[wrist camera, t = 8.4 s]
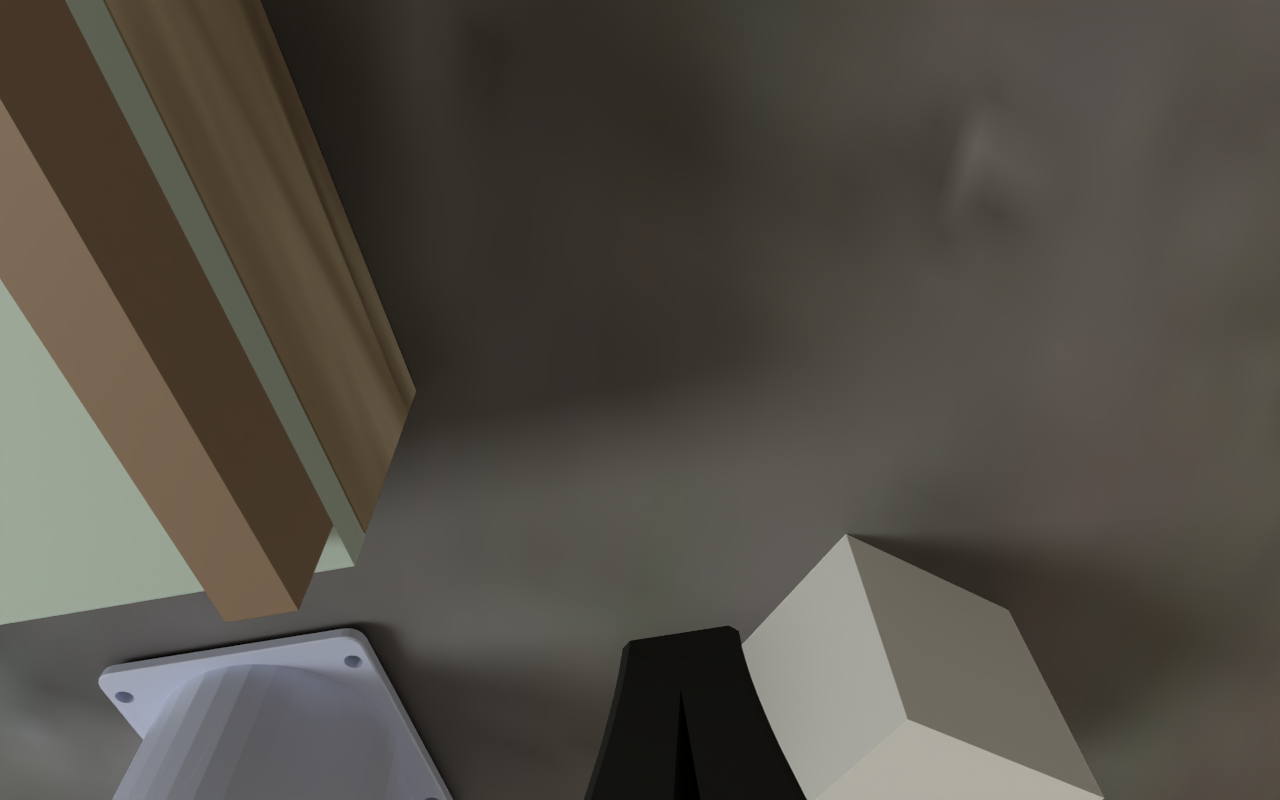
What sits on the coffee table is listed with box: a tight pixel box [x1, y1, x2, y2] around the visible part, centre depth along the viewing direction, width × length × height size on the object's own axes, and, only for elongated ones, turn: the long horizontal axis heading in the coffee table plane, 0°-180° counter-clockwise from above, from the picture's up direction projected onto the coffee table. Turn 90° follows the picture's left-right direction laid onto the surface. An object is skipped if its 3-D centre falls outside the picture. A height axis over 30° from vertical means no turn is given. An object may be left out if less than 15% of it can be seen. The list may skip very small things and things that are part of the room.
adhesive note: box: [742, 534, 1104, 800], centre depth 23 cm, size 6×6×6 cm
